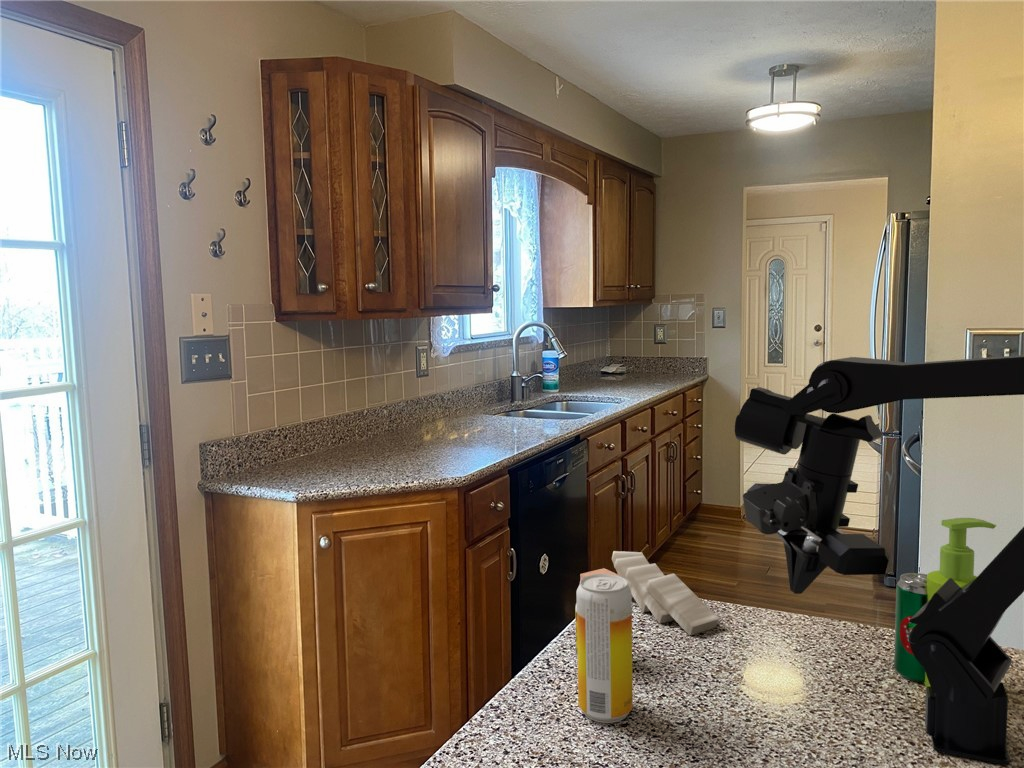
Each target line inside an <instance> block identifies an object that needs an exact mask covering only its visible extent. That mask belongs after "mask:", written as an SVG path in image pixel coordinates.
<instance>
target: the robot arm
mask: <svg viewBox="0 0 1024 768" xmlns="http://www.w3.org/2000/svg"><path fill="white" fill-rule="evenodd" d="M749 391H750V393H749V396H748V398H747V399H746V401H745V402H744V403H743V405H742V407H741V409H740V411H739V413H738V414H737V415H736V417H735V422H734V435H735V437H736V439H737V441H740V442H743V443H746V444H749V445H752V446H755V447H757V448H762V449H765V450H766V451H767V450H768V451H771V452H774V453H777V454H779V455H784V456H785V455H787V454H789V453H790V452H791V450H797V449H799V448H800V447H801V448H800V452H799V456H798V461H797V464H796V465H797V466H796V467H787V470H786V471H784V472H785V473H784V476H783V479H782V481H781V482H777V483H759V482H758V483H754V484H753V485H752V486H751V487H749V488H748V489H747V490H746V492H745V493H743V494H742V501H743V507H744V508H743V509H744V516H745V521H746V522H747V523H749V524H752V525H753V526H754V527H755V528H756V529H757V530H758V532H760V534H764V535H774V534H776V535H777V537H778V538H779V539H780V540H781V542H782V544H783V546H784V547H783V548H784V552H785V558H786V566H787V576H788V581H789V582H788V583H789V590H790V591H791V592H792V593H793V594H795V595H800V594H802V593H804V592H805V591H806V590H807V589H808V587H809V586H810V585H811V584H813V582H814V581H815V580H816V579H817V578H818V576H820V574H821V573H822V572H823V571H825V569H827V568H828V567H829V569H831V570H832V571H834V572H835V573H836V574H840V575H843V576H870V575H871V576H874V575H875V576H876V575H886V573H887V570H888V569H887V568H888V565H889V561H890V557H891V556H890V554H889V552H888V550H887V549H886V548H885V547H884V546H883V545H880V544H879V543H877V542H876V541H875V540H873V539H871V538H870V537H869V536H866V534H864V533H845V532H843V531H842V530H841V529H840V528H839V527H843V528H844V527H845V528H847V527H849V525H850V521H851V520H850V519H851V518H850V517H848V516H847V515H845V514H844V508H845V504H846V500H847V495H848V493H851V494H853V493H855V494H856V493H857V492H858V487H859V484H858V483H857V482H855V481H853V480H852V475H853V471H854V466H855V462H856V458H857V454H858V449H859V446H860V441H864V442H866V443H871V442H874V441H877V440H879V439H881V438H882V437H883V436H884V433H883V431H881V429H880V428H879V427H878V425H876V424H875V422H874V419H873V416H872V415H869V414H868V415H864V416H862V417H859V419H856V418H853V417H848V416H845V415H841V414H842V413H846V412H853V411H858V410H862V409H867V408H870V407H874V406H879V405H880V406H881V405H884V404H891V403H895V402H898V401H904V400H924V399H925V400H928V399H947V398H948V399H949V398H975V397H976V398H977V397H978V398H979V397H996V396H999V397H1001V396H1003V397H1005V396H1024V354H1023V355H1010V356H1009V355H1007V356H991V357H980V358H979V357H978V358H977V357H976V358H963V359H952V360H951V359H950V360H938V361H937V360H936V361H934V360H933V361H921V362H903V361H895V360H889V359H888V360H887V359H883V358H868V357H859V356H849V357H843V358H837V359H829V360H826V361H824V362H821V363H820V364H818V365H817V366H816V368H815V369H814V370H813V371H812V372H811V374H810V377H809V378H808V384H807V385H806V386H805V387H803V388H802V389H801V390H799V391H798V392H797V393H796V394H795V395H794V396H788V395H783V394H780V393H777V392H773V391H772V390H770V389H768V388H763V387H761V386H759V387H754V388H751V389H750V390H749ZM818 411H823V412H826V413H830V414H829V415H828V416H827V417H826V418H825V417H821V416H817V415H814V414H810V413H814V412H818ZM1023 593H1024V526H1023V527H1022V528H1021V529H1020V530H1019V531H1018V532H1017V533H1016V534H1015V535H1014V537H1013V538H1011V540H1010V541H1009V542H1008V543H1007V544H1006V545H1005V546H1004V547H1003V548H1002V549H1001V550H1000V552H999V553H998V554H997V555H996V556H994V558H993V559H992V560H991V561H990V562H989V563H988V565H986V567H985V568H984V569H983V570H982V571H981V572H980V573H979V574H978V575H977V577H976V578H975V579H974V580H972V581H971V582H969V583H967V584H966V585H964V586H963V587H960V586H959V585H958V584H957V583H956V582H955V581H954V580H953V579H952V578H949V579H948V580H947V581H946V582H945V583H944V584H943V585H942V586H941V587H940V588H939V589H938V590H937V591H936V592H935V593H934V595H933V596H932V598H931V599H930V600H929V601H928V602H927V603H926V604H925V605H924V606H923V607H922V608H921V609H920V610H919V611H918V612H917V613H916V614H915V615H914V616H913V617H912V618H911V619H910V622H911V623H914V624H916V625H915V627H914V628H913V629H912V631H911V632H910V635H909V642H910V647H911V651H912V652H913V654H914V656H915V658H916V659H917V660H918V661H919V662H920V663H921V665H922V666H924V669H925V672H926V675H927V678H928V681H929V683H930V686H928V687H926V686H925V711H924V713H925V714H924V715H925V716H924V720H925V721H924V724H925V730H926V734H927V736H929V737H931V742H932V749H933V750H934V751H935V752H938V753H943V754H948V755H953V756H958V757H963V758H968V759H972V760H973V759H974V760H979V761H984V762H989V763H993V764H999V765H1003V766H1009V765H1010V764H1011V758H1010V755H1009V752H1008V749H1007V739H1008V738H1007V736H1008V735H1007V734H1008V733H1007V732H1008V709H1009V695H1008V693H1007V690H1006V688H1005V685H1004V683H1002V680H1003V679H1004V678H1005V676H1006V675H1007V672H1008V671H1009V669H1010V667H1011V665H1012V663H1013V660H1012V658H1011V657H1010V656H1009V655H1008V654H1007V652H1005V650H1004V649H1002V647H1001V646H1000V645H999V644H998V643H997V642H996V640H994V638H993V637H992V634H993V633H994V631H995V629H996V627H997V626H998V624H999V622H1000V621H1001V619H1002V618H1003V615H1004V614H1005V612H1006V610H1007V609H1008V608H1010V606H1011V605H1012V604H1013V603H1015V601H1016V600H1017V599H1019V597H1020V596H1021V595H1022V594H1023Z"/></svg>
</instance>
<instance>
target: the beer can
mask: <svg viewBox="0 0 1024 768" xmlns="http://www.w3.org/2000/svg"><path fill="white" fill-rule="evenodd" d="M632 600H633V598H632V592H631V590H630V588H629V586H628V582H627V580H626V579H624V578H622V577H620V576H617V575H611V574H594V575H589V576H586V577H584V578H582V579H581V580H580V581H579V585H578V587H577V589H576V603H577V649H578V658H577V688H578V689H577V692H578V693H577V694H578V695H577V697H578V698H577V700H578V701H577V702H578V707H579V709H580V710H581V711H582V712H583V713H584V716H586V718H588V719H589V720H591V721H594V722H598V723H602V724H603V723H605V724H608V723H609V724H611V723H618V722H620V721H622V720H624V719H626V718H627V716H628V714H629V713H630V712H631V711H632V709H633V708H634V707H633V706H634V705H633V704H634V703H633V702H634V700H633V698H634V697H633V695H634V693H633V691H634V690H633V689H634V688H633V687H634V686H633V683H634V682H633V681H634V679H633V615H632V614H633V612H632V611H633V603H632V602H633V601H632Z"/></svg>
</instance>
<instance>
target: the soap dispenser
mask: <svg viewBox="0 0 1024 768" xmlns="http://www.w3.org/2000/svg"><path fill="white" fill-rule="evenodd" d="M941 526H942V527H944V528H948V530H949V535H948V543H945V544H944V545H941V546H940V551H939V570H933V571H931V572H928V573H927V574H926V575H927V594H928V601H929V600H930V599H931V598H932V596H933V595H934V593H935V592H936V591H937V590H938V589H939V588H940V587H941V586H942V585H943V584H944V583H945V582H946V581H947V580H948V579H949V578H952V579H953V580H954V581H955V582H956V583H957V584H958V585H959V586H960V587H963V586H964V585H966V584H967V583H969V582H971V581H972V580H974V579H975V578H976V577H978V575H974V571H975V550H974V549H972V548H970V547H969V546H968V545H967V532H968V531H967V529H972V528H987V529H995V528H996V527H997V524H994V523H992V522H988V521H986V520H984V519H981V518H976V517H975V518H974V517H956V518H948V519H942V520H941ZM923 684H924V686H925V688H926V687H928V686H930V683H929V681H928V678H927V675H926V672H925V681H924V683H923Z"/></svg>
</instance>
